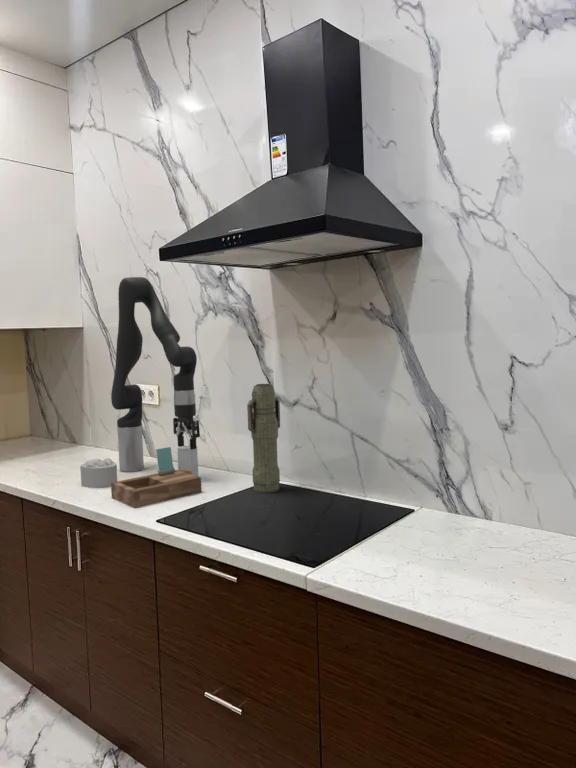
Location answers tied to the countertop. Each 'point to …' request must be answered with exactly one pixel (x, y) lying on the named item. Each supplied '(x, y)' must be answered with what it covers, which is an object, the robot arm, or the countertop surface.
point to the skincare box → (188, 460)
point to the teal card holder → (165, 461)
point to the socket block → (155, 488)
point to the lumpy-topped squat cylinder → (98, 473)
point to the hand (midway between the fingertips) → (187, 447)
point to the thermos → (264, 437)
